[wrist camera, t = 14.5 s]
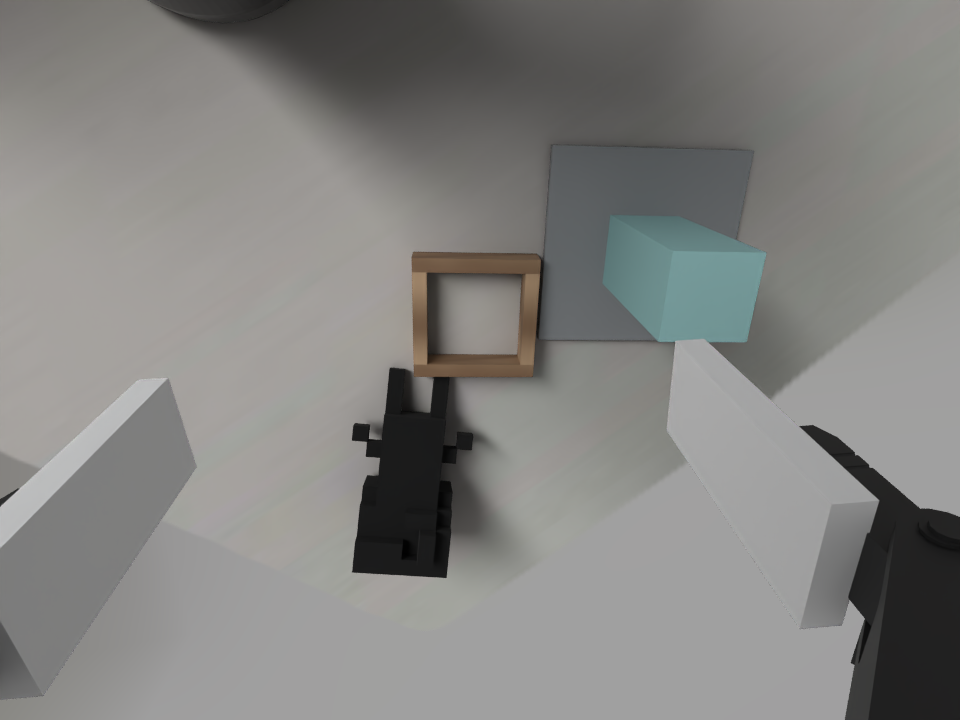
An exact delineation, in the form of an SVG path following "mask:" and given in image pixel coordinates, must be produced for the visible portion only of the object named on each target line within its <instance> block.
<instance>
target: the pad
mask: <svg viewBox="0 0 960 720" xmlns="http://www.w3.org/2000/svg"><path fill="white" fill-rule="evenodd" d="M753 153H754V151H752V150H723V149H687V148H652V147H616V146H580V145H551V155H550V169H549V183H548V197H547V211H546V225H545V239H544V253H543V267H542V281H541V295H540V309H539V323H538V336H537V337H538V339H539V340H656V339H655V338H654V337H653V336H652V335H651V334H650V333H649V332H648V331H647V330H646V328H645V327H644V326H643V325H642V324H641V323H640V322H639V321H638V320H637V319H636V318H635V317H634V316H633V315H632V314H631V313H630V312H629V311H628V310H627V309H626V308H625V307H624V306H623V305H622V303H621V302H620V301H619V300H618V299H617V298H616V297H615V296H614V295H613V294H612V293H611V292H610V291H609V290H608V289H607V288H606V287H605V286H604V285H603V284H602V283H603V274H604V266H605V257H606V248H607V239H608V231H609V222H610V215H637V216H680V217H682V218H684V219H687V220H689V221H692V222H694V223H696V224H699V225H701V226H704V227H706V228H708V229H711V230H713V231H716V232H718V233H720V234H723V235H725V236H728V237H730V238H732V239H735V240H736V238H737V233H738V228H739V223H740V218H741V213H742V208H743V203H744V198H745V193H746V188H747V183H748V178H749V173H750V168H751V163H752V158H753Z"/></svg>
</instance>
